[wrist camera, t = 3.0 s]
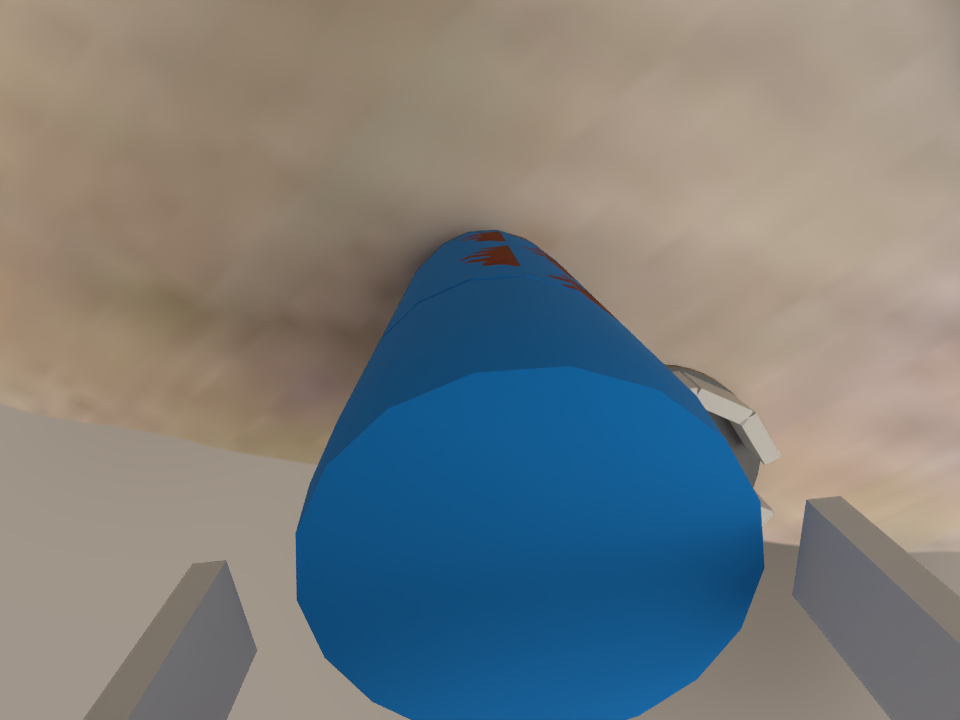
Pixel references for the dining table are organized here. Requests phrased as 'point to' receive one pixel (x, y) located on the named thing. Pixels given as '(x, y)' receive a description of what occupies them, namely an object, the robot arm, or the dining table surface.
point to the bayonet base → (733, 425)
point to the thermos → (522, 506)
